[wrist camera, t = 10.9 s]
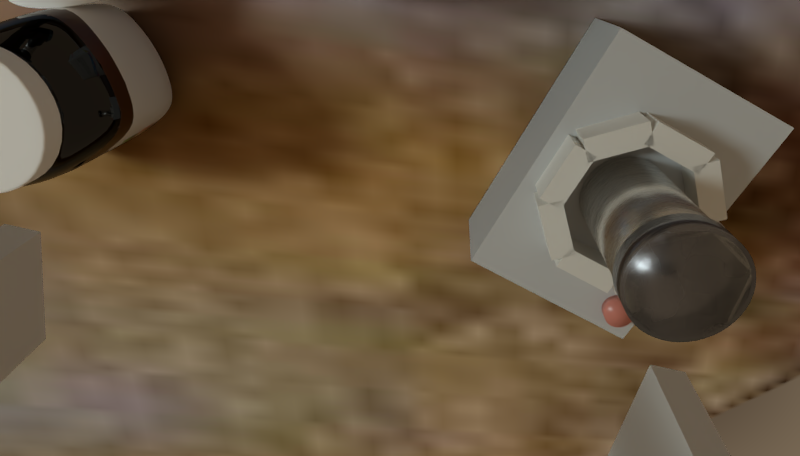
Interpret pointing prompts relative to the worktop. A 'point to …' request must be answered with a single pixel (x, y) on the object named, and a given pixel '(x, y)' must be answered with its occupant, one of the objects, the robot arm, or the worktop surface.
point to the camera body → (601, 141)
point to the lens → (665, 252)
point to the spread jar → (73, 87)
